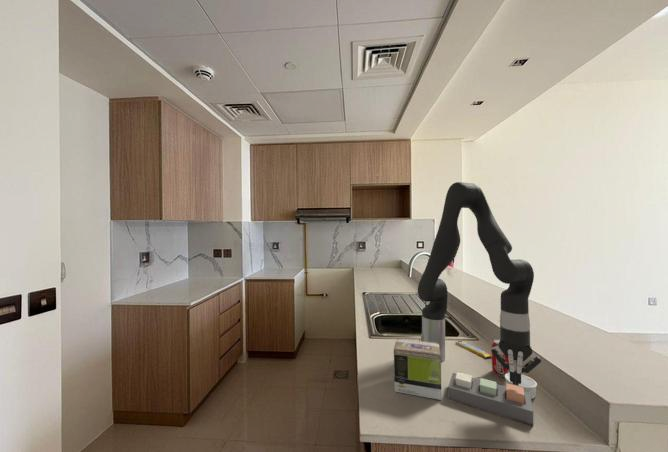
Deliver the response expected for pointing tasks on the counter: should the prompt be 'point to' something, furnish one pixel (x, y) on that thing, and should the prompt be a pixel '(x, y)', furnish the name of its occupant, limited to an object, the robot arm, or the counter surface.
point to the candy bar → (473, 349)
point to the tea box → (417, 368)
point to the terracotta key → (515, 393)
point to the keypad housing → (491, 401)
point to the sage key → (488, 387)
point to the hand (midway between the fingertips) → (515, 383)
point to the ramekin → (524, 384)
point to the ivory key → (464, 380)
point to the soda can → (496, 364)
